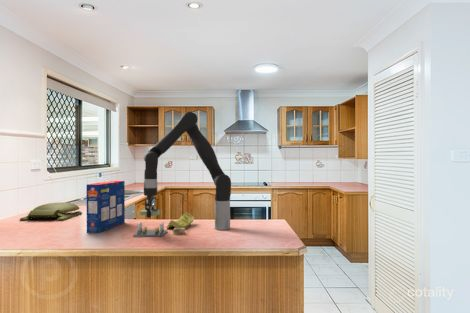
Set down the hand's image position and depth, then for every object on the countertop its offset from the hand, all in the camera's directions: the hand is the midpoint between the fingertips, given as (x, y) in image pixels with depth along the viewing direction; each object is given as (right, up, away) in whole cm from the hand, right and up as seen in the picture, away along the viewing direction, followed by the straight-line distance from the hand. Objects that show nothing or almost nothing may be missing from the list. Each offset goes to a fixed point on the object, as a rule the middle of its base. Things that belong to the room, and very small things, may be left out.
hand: (150, 216), depth 184 cm
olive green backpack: (-84, -11, +54) cm, 101 cm away
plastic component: (+15, -10, +19) cm, 26 cm away
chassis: (0, -10, 0) cm, 10 cm away
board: (0, +1, 0) cm, 1 cm away
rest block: (+16, -10, +1) cm, 19 cm away
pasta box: (-32, -10, +17) cm, 38 cm away
